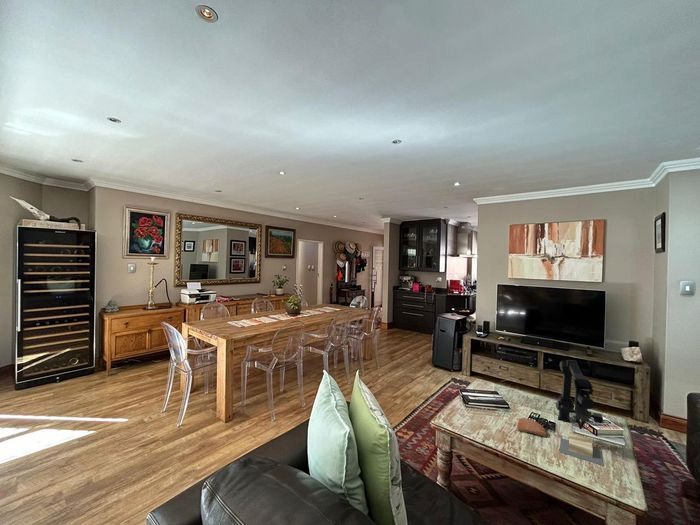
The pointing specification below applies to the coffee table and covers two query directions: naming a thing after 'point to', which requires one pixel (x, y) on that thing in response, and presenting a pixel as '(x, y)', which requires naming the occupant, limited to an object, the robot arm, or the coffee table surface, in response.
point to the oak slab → (580, 445)
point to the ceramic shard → (530, 427)
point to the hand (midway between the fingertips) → (580, 428)
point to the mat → (596, 454)
